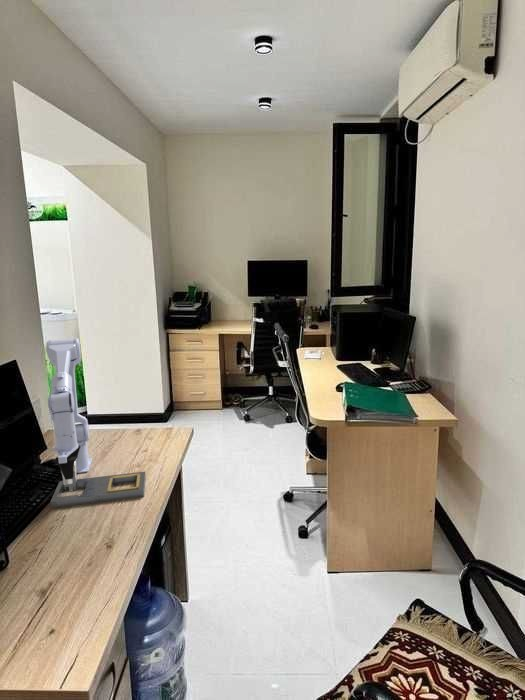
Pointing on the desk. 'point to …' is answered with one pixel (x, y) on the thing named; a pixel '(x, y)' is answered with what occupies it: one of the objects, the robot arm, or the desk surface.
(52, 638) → the desk surface
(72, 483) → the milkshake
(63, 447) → the robot arm
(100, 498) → the grey board with holes
